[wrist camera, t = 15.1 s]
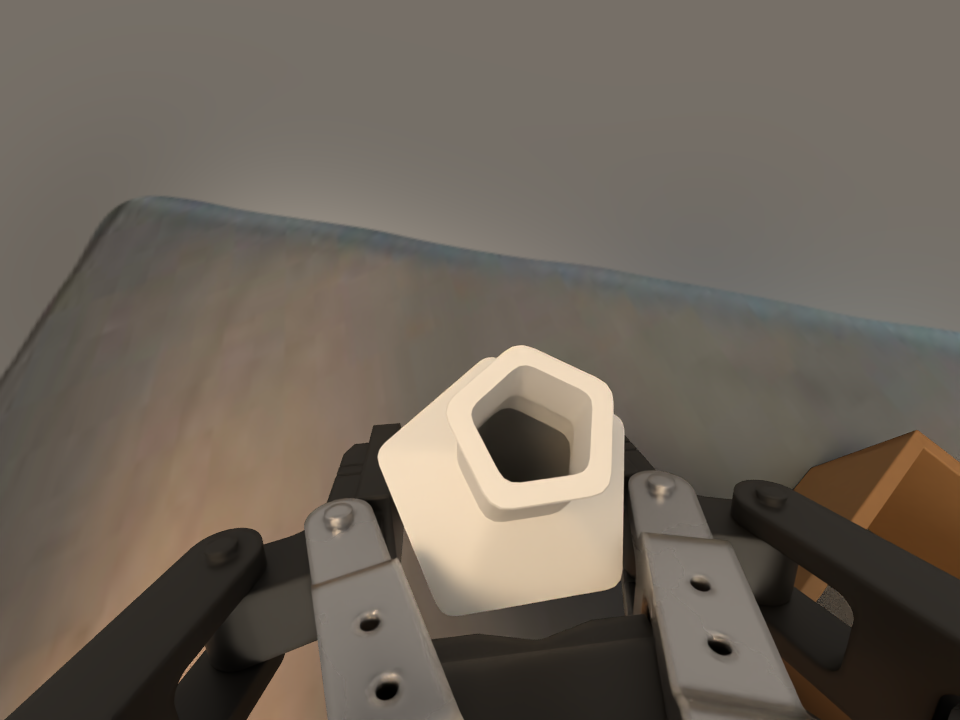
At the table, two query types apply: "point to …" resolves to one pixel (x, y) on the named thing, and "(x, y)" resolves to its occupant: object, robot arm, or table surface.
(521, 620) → the table surface
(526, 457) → the perfume bottle
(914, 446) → the divided tray
